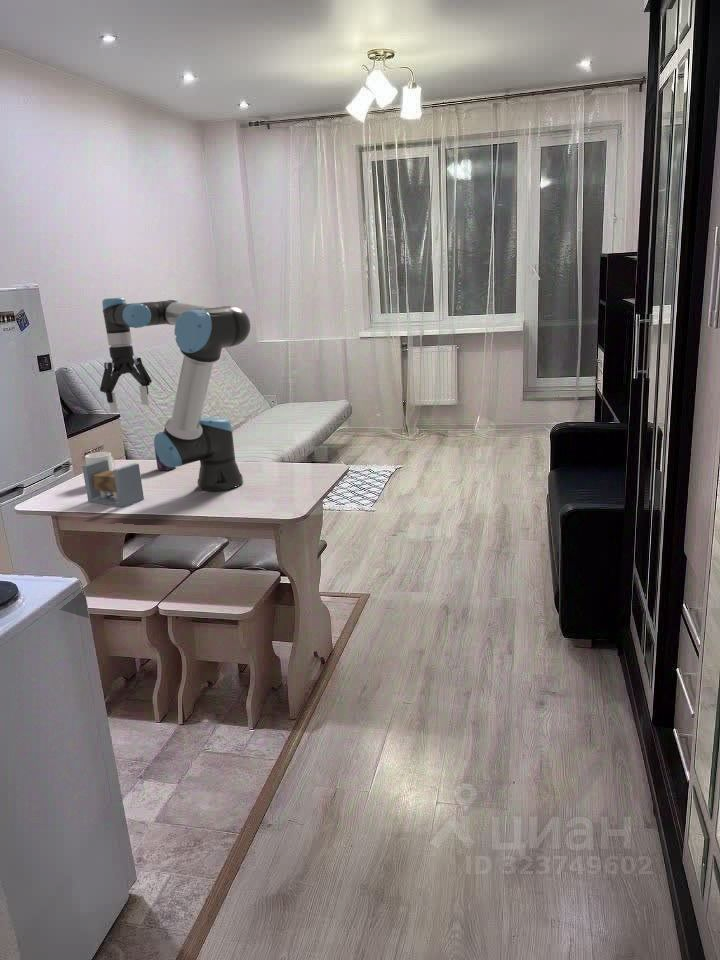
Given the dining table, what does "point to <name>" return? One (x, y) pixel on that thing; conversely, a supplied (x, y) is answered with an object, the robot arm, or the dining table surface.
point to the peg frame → (124, 480)
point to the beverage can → (161, 465)
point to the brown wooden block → (105, 481)
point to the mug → (100, 458)
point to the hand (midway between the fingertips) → (130, 408)
